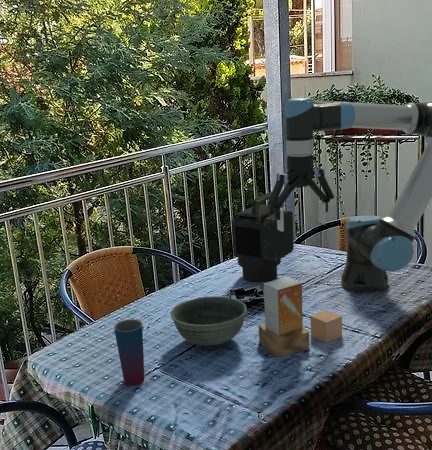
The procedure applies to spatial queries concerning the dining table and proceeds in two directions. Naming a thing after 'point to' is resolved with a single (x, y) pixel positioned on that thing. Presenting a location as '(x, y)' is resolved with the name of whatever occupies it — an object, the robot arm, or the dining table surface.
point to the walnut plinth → (284, 341)
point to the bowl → (209, 320)
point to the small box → (283, 305)
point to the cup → (130, 350)
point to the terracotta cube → (326, 326)
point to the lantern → (261, 240)
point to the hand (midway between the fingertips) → (301, 226)
